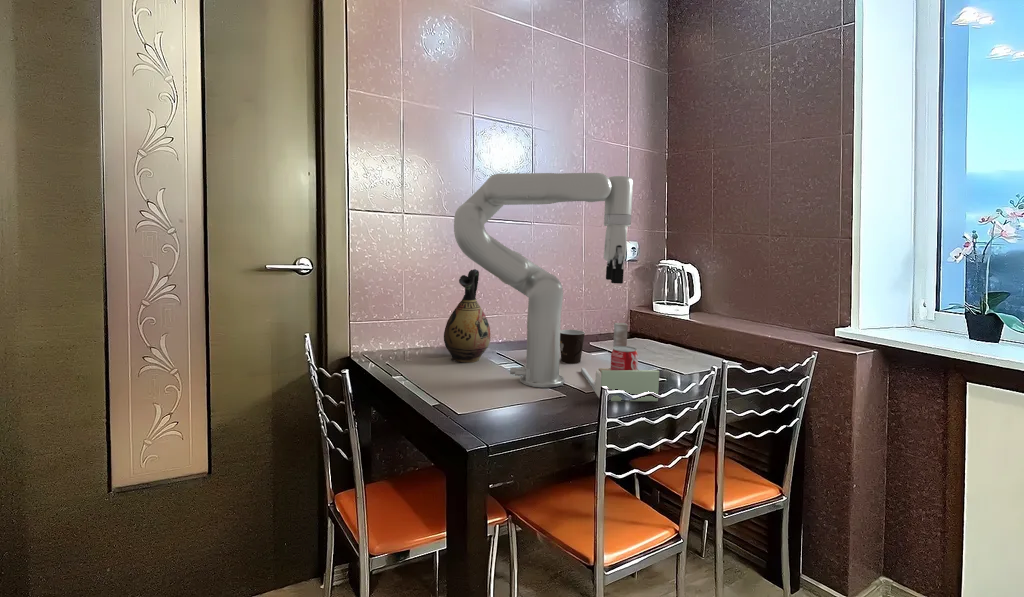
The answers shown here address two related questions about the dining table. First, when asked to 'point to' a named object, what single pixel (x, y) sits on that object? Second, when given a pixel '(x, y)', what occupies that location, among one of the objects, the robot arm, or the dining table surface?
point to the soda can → (624, 358)
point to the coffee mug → (571, 346)
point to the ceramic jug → (467, 325)
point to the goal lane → (626, 382)
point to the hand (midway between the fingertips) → (614, 281)
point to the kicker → (618, 337)
